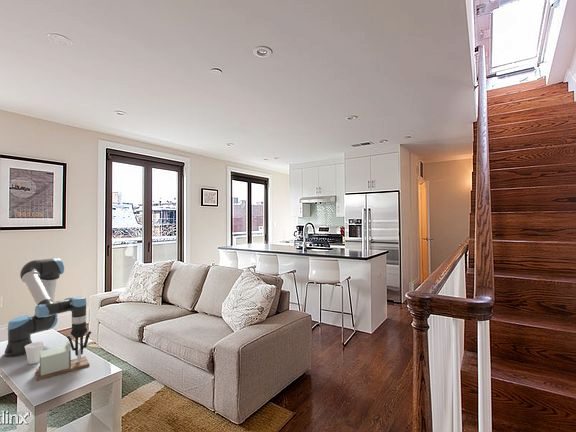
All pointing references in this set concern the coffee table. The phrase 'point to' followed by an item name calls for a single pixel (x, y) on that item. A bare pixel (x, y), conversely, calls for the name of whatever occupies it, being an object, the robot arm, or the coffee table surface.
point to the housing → (55, 359)
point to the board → (74, 366)
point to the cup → (34, 352)
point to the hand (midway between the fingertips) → (79, 360)
